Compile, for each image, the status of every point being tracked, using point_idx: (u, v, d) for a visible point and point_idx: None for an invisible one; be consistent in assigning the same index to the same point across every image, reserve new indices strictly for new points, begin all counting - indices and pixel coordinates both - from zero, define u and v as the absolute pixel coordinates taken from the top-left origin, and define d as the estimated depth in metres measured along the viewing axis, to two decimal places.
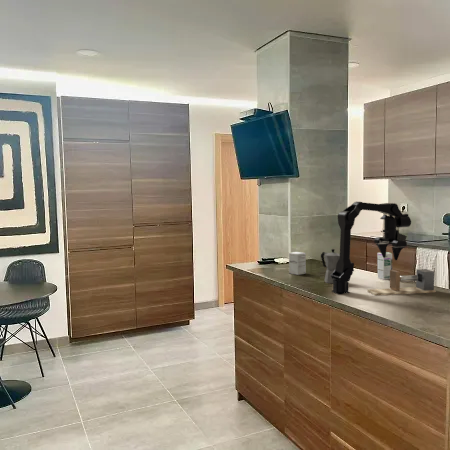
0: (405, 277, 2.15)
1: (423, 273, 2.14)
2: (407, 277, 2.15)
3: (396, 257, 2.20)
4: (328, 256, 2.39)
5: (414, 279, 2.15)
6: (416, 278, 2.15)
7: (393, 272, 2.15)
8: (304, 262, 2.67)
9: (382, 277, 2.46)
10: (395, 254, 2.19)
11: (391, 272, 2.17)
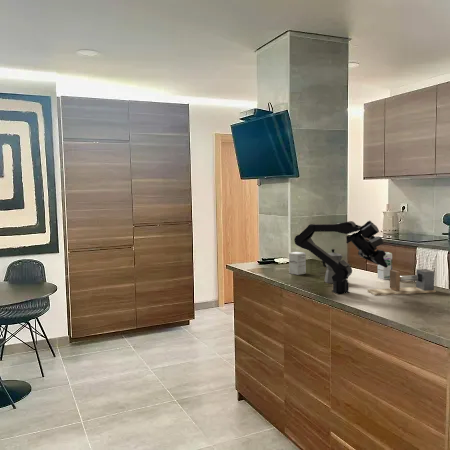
0: (405, 277, 2.15)
1: (423, 273, 2.14)
2: (407, 277, 2.15)
3: (385, 265, 2.10)
4: None
5: (414, 279, 2.15)
6: (416, 278, 2.15)
7: (393, 272, 2.15)
8: (304, 262, 2.67)
9: (382, 277, 2.46)
10: (382, 264, 2.09)
11: (391, 272, 2.17)
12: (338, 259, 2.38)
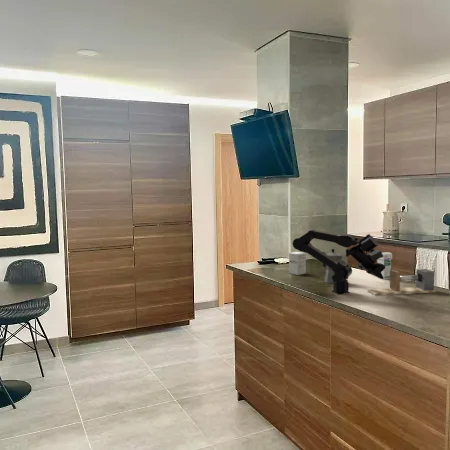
0: (405, 277, 2.15)
1: (423, 273, 2.14)
2: (407, 277, 2.15)
3: (381, 277, 2.14)
4: None
5: (414, 279, 2.15)
6: (416, 278, 2.15)
7: (393, 272, 2.15)
8: (304, 262, 2.67)
9: None
10: (378, 276, 2.13)
11: (391, 272, 2.17)
12: (338, 259, 2.38)
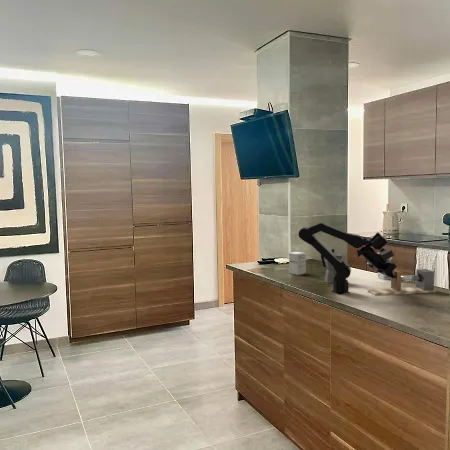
0: (406, 277, 2.15)
1: (423, 273, 2.14)
2: (408, 277, 2.15)
3: (392, 276, 2.14)
4: None
5: (415, 279, 2.15)
6: (417, 278, 2.15)
7: (394, 272, 2.15)
8: (304, 262, 2.67)
9: (382, 277, 2.46)
10: (389, 275, 2.13)
11: (392, 272, 2.17)
12: None
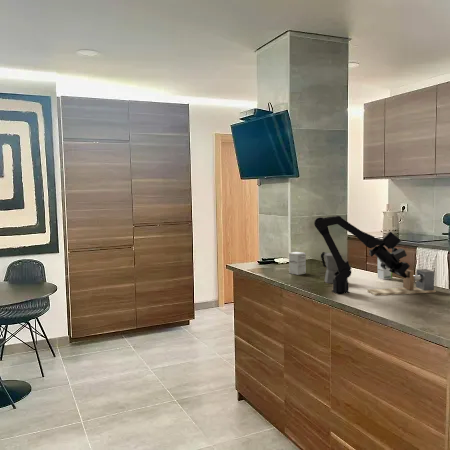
0: (419, 276, 2.16)
1: (423, 273, 2.14)
2: (421, 276, 2.16)
3: (404, 275, 2.15)
4: (328, 256, 2.39)
5: None
6: None
7: (407, 271, 2.15)
8: (304, 262, 2.67)
9: (382, 277, 2.46)
10: (401, 275, 2.14)
11: (405, 271, 2.17)
12: None
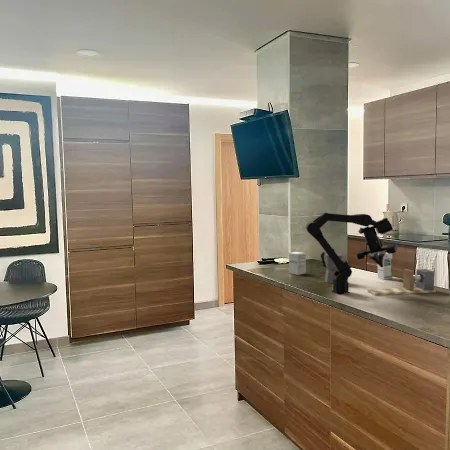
0: (419, 276, 2.16)
1: (423, 273, 2.14)
2: (421, 276, 2.16)
3: (382, 264, 2.17)
4: (328, 256, 2.39)
5: None
6: None
7: (407, 271, 2.15)
8: (304, 262, 2.67)
9: (382, 277, 2.46)
10: (382, 261, 2.16)
11: (405, 271, 2.17)
12: None
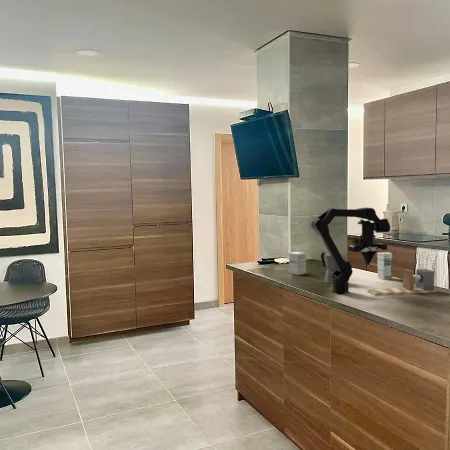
0: (419, 276, 2.16)
1: (423, 273, 2.14)
2: (421, 276, 2.16)
3: None
4: (328, 256, 2.39)
5: None
6: None
7: (407, 271, 2.15)
8: (304, 262, 2.67)
9: (382, 277, 2.46)
10: None
11: (405, 271, 2.17)
12: None
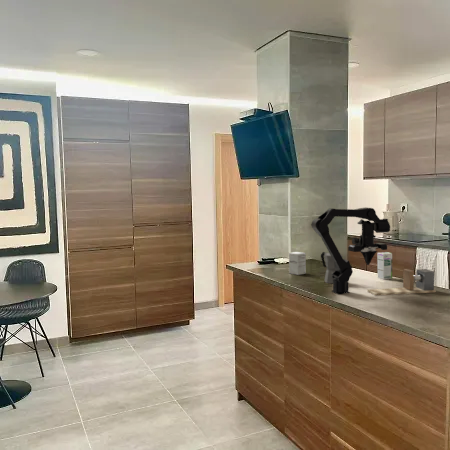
0: (419, 276, 2.16)
1: (423, 273, 2.14)
2: (421, 276, 2.16)
3: None
4: (328, 256, 2.39)
5: None
6: None
7: (407, 271, 2.15)
8: (304, 262, 2.67)
9: (382, 277, 2.46)
10: None
11: (405, 271, 2.17)
12: None
